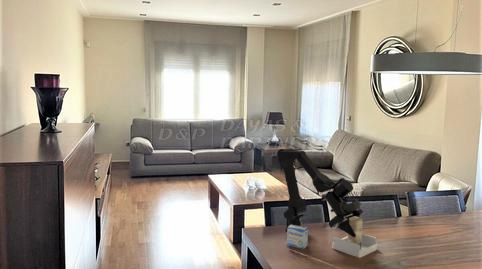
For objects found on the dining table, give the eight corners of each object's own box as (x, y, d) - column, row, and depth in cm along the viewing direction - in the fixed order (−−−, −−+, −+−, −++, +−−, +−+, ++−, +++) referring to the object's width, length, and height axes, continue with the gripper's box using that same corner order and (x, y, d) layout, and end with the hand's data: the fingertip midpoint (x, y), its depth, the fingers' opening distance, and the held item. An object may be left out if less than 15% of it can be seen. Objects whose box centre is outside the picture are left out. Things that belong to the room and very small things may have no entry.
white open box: (332, 249, 173) (332, 236, 173) (349, 242, 182) (350, 229, 181) (360, 259, 163) (360, 245, 163) (377, 250, 172) (377, 238, 172)
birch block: (347, 248, 173) (348, 218, 171) (352, 245, 176) (354, 216, 174) (355, 251, 170) (357, 220, 169) (361, 248, 173) (362, 218, 171)
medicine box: (286, 246, 176) (287, 226, 175) (290, 243, 180) (290, 224, 179) (304, 250, 172) (304, 230, 171) (307, 246, 176) (308, 227, 175)
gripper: (335, 197, 167) (358, 230, 160) (360, 190, 179) (382, 221, 173) (319, 211, 173) (340, 244, 167) (344, 203, 186) (364, 234, 179)
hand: (357, 235), depth 171 cm, fingers closed on birch block, 4 cm apart
